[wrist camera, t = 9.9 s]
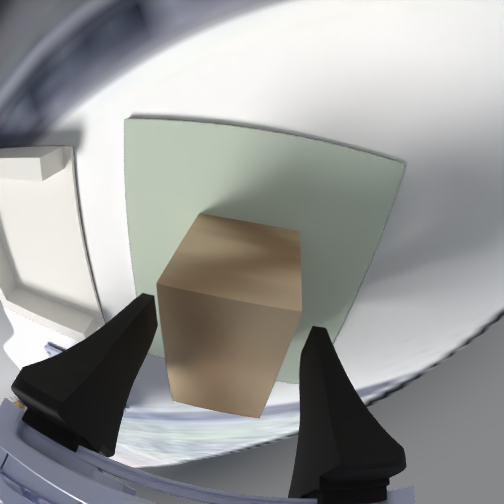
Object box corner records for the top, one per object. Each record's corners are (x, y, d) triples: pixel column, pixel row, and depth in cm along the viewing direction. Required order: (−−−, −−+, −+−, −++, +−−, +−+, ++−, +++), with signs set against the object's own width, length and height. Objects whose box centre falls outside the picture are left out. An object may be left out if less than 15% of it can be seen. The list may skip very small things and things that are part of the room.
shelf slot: (106, 327, 19) (94, 346, 17) (15, 292, 19) (3, 306, 18) (72, 146, 12) (47, 157, 10) (-23, 150, 12) (-42, 160, 10)
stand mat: (309, 381, 19) (309, 385, 19) (148, 350, 20) (147, 353, 19) (402, 163, 11) (405, 164, 10) (127, 118, 11) (124, 119, 11)
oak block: (299, 231, 13) (302, 311, 8) (267, 345, 17) (259, 418, 13) (199, 213, 13) (156, 283, 9) (195, 331, 17) (172, 400, 13)
